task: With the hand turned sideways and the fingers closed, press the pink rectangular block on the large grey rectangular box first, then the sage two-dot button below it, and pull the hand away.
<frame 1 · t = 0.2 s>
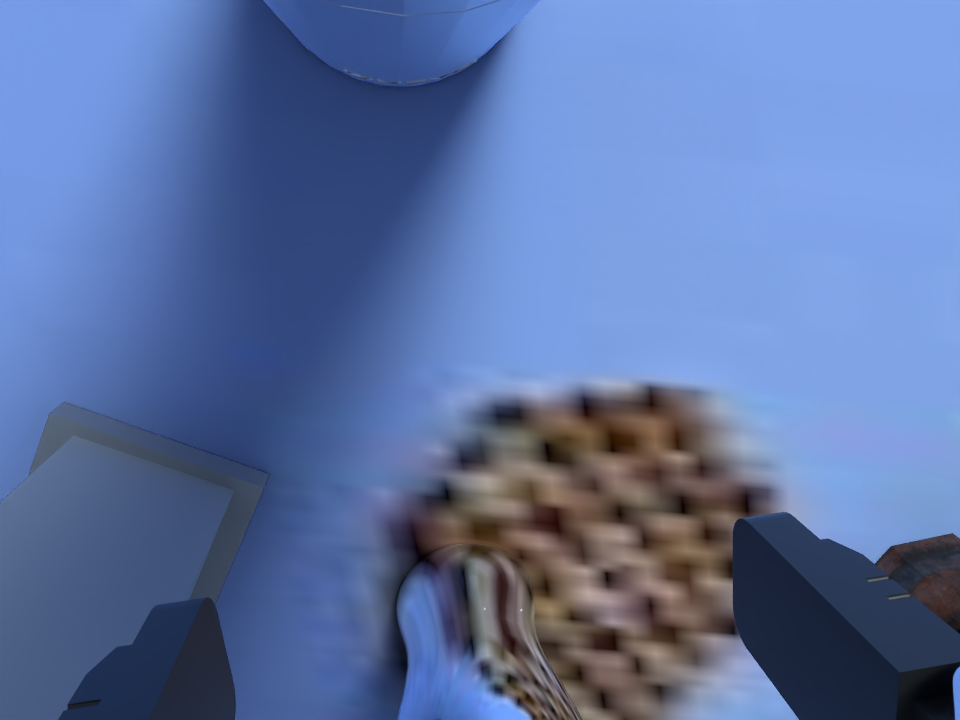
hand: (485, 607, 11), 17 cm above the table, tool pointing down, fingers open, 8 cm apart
beer glass: (464, 599, 31), on the table
lantern: (915, 602, 34), on the table
large grey rectangular box: (103, 614, 29), on the table
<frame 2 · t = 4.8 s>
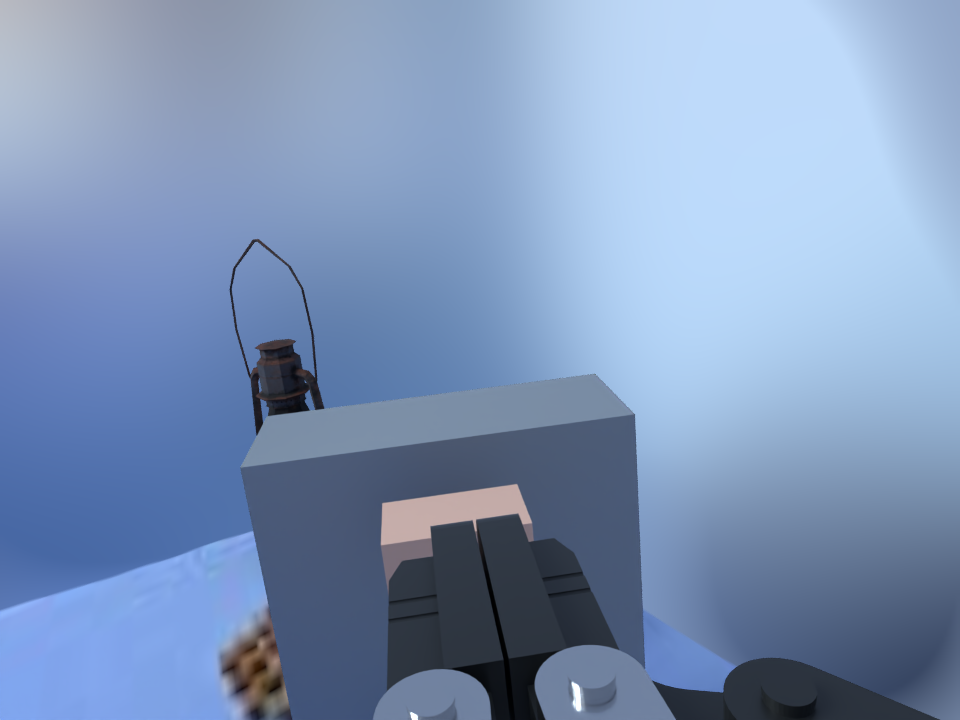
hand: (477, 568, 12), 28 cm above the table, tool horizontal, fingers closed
pink rectangular block 1: (460, 566, 25), point 21 cm above the table, slide at 0.0 cm
lantern: (312, 542, 70), on the table
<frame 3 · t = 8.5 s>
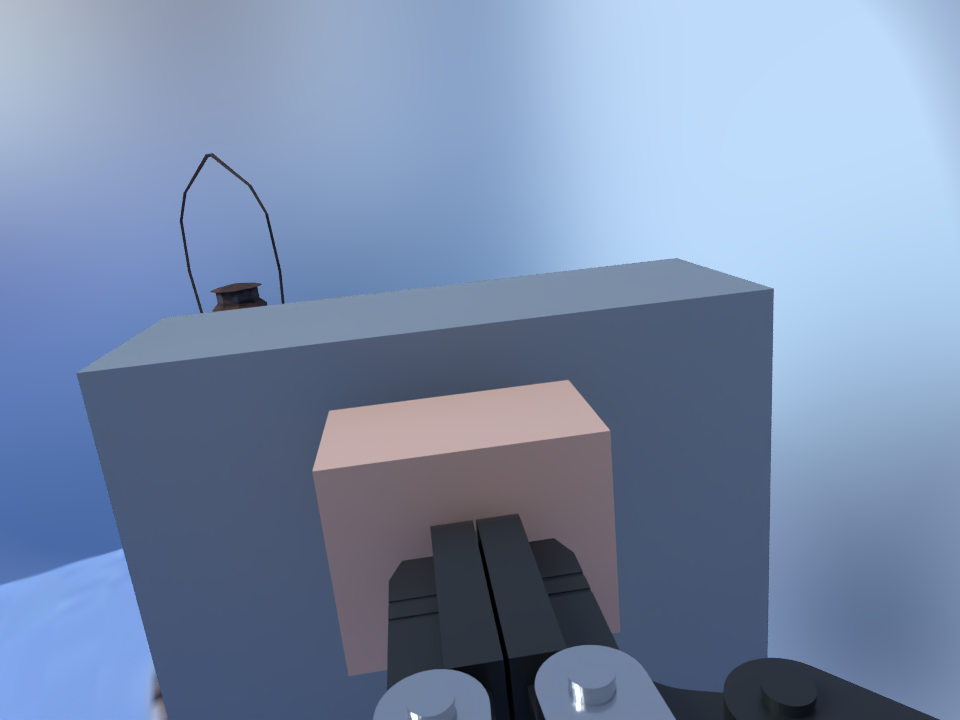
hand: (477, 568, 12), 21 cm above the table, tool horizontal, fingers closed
pink rectangular block 1: (468, 520, 13), point 21 cm above the table, slide at 1.0 cm, touching gripper
lantern: (285, 532, 58), on the table
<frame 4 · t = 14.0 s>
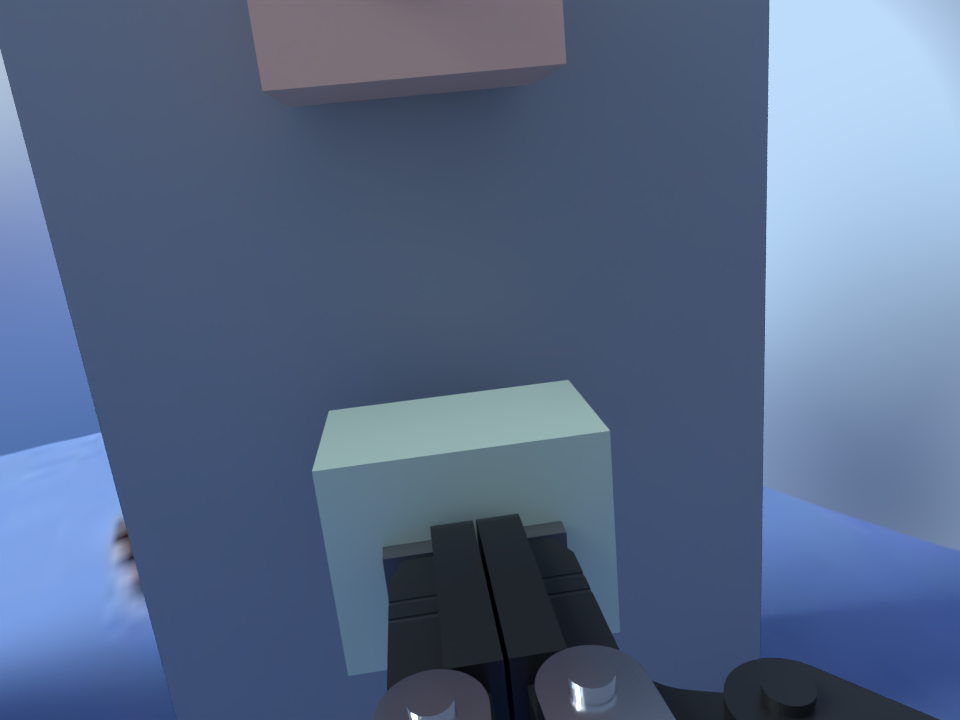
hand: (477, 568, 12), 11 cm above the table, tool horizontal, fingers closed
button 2: (468, 520, 13), point 11 cm above the table, slide at 0.6 cm, touching gripper
large grey rectangular box: (481, 718, 23), on the table
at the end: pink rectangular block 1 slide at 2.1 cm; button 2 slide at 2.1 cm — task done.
